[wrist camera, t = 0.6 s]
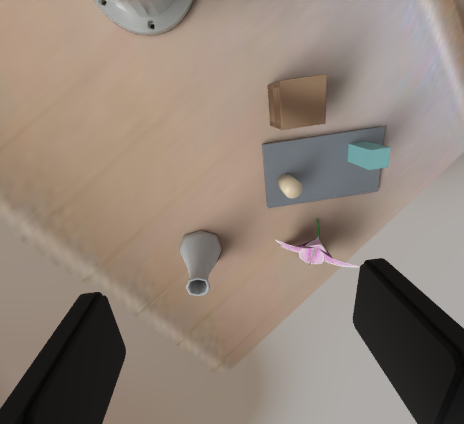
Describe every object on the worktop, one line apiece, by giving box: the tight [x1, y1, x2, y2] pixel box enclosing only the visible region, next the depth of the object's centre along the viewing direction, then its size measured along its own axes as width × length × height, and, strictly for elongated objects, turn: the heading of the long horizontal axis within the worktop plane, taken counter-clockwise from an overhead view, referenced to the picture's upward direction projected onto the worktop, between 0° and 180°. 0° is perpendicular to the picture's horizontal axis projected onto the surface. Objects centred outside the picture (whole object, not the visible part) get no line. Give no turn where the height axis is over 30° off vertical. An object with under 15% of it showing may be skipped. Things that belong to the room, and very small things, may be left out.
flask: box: [180, 231, 222, 297], centre depth 38 cm, size 7×7×10 cm
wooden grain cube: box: [268, 74, 327, 130], centre depth 31 cm, size 5×5×7 cm
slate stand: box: [262, 126, 385, 208], centre depth 36 cm, size 10×18×5 cm, turn 98°
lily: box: [276, 218, 359, 268], centre depth 40 cm, size 12×12×10 cm
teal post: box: [348, 141, 391, 170], centre depth 35 cm, size 3×3×6 cm
